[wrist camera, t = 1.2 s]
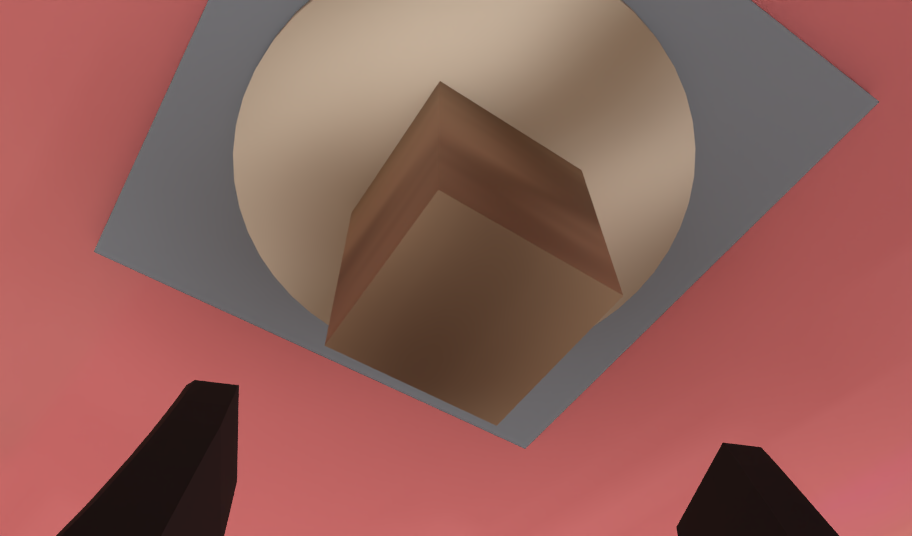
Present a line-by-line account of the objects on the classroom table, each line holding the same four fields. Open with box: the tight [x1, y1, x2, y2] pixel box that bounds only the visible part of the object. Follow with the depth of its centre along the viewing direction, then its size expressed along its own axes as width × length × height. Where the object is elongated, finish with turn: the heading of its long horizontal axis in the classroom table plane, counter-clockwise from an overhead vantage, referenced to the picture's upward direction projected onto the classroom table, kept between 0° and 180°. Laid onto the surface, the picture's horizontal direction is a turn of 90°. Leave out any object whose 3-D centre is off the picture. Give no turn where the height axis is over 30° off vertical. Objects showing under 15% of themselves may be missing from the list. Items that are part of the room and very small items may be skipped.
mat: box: [94, 0, 879, 448], centre depth 19 cm, size 14×14×1 cm
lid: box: [233, 0, 696, 426], centre depth 16 cm, size 11×11×6 cm
